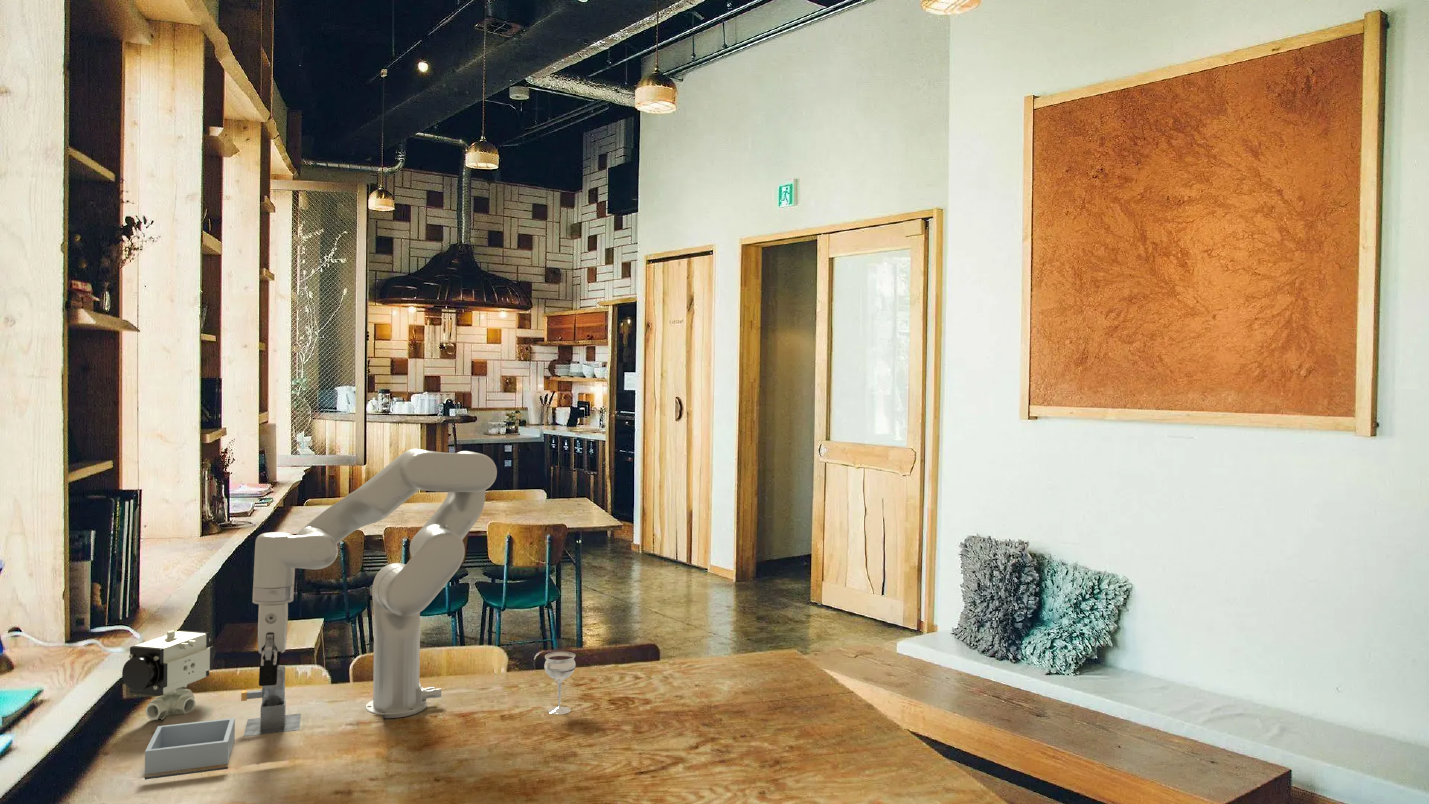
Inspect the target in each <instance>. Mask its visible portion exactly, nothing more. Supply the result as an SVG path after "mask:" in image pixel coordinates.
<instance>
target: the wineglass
mask: <svg viewBox="0 0 1429 804" xmlns="http://www.w3.org/2000/svg"><path fill="white" fill-rule="evenodd" d="M575 657H576V654H575V653H573V652H569V651H552V652H549V653H547V654H545V655H544V659H545V662H544V665H543V666H544V670H545V674H546V675H547V676H548V677H549V678H551V679H552V680H555V681H556V682H557V697H558V700H557V701H558V702H557V703H558V706H555V707H550V708H549V709H547V712H548V713H549V714H551V715H566V714H569V713H570V712H571V710H572V709H571V708H569V707H567V706H561V702H562V698H561V697H562V696H561V695H562V683H563V682H564V680H566V679H568V678H569V677H570V676H571V675H572V674H573V673H574V672H575V669H576V665H577V664H576V661H575Z"/></svg>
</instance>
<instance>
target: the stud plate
mask: <svg viewBox="0 0 1429 804" xmlns="http://www.w3.org/2000/svg"><path fill="white" fill-rule="evenodd" d="M301 715H302V713H293V714H286V720H285V727H279V728H270V729H261V730H260V717H256V718H247V721H246V725H245V729H244V733H243V737H249V736H250V737H253V736H260V735H269V734H270V735H271V734H277V733H286V732H287V733H288V732H295V731H299V730H300V726H301V717H302V716H301Z"/></svg>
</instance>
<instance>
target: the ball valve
mask: <svg viewBox="0 0 1429 804" xmlns="http://www.w3.org/2000/svg"><path fill="white" fill-rule="evenodd" d="M215 656H216V646H215V643H214V642H213V640H212V639H211V638H210V632H207V631H196V630H195V631H193V630H183V629H182V630H178V631H175V630H169V631H166V634H165V635H164V636H160V637H157V638H154V639H151V640H148V641H145V642H142V643H139V644H136V645H132V646H130V647H129V655H128V658H129V659H128V660H127V661H126V662H125V663H124V665H123V667H122V674H121V676H122V680H123V682H124V684H125V686H126V687H127V688H128V689H129V694H134V695H148V696H157V697H156V698H155V697H154V699H152V700H151V701H150V702H148V704H147V705H146V707H145V710H144V712H145V715H146V717H147V718H148V719H149V720H152V721H159V720H158V719H161V720H160V721H162V720H165V718H166V717H168V716H170V715H174V716H175V715H176V716H177V715H186V714H189V713H190V712H193V711H194V710H195V706H196V704H197V702H196V700H195V695H194V693H193V691H192V690H191V689H188V688H187V687H188V685H191V684H192V683H195V682H197V681H200V680H202V679H204V678H207V677H210V670H212V669H214V658H215Z"/></svg>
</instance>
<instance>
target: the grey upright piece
mask: <svg viewBox="0 0 1429 804" xmlns="http://www.w3.org/2000/svg"><path fill="white" fill-rule="evenodd" d="M240 697H241V699H240V701H241V702H245V701H246V702H247V701H248V700H251V699H252V700H253V699H261V705H260V717H259V718H260V730H261V729H270V728H279V727H285V720H286V715H287V714H286V711H287V705H286V704H287V703H286V701H287V698H286V666H285V665H281V664H280V665H278V669H277V684H276V685H269V686H261V690H260V689H259V690H249V691H248V690H241V692H240Z"/></svg>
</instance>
